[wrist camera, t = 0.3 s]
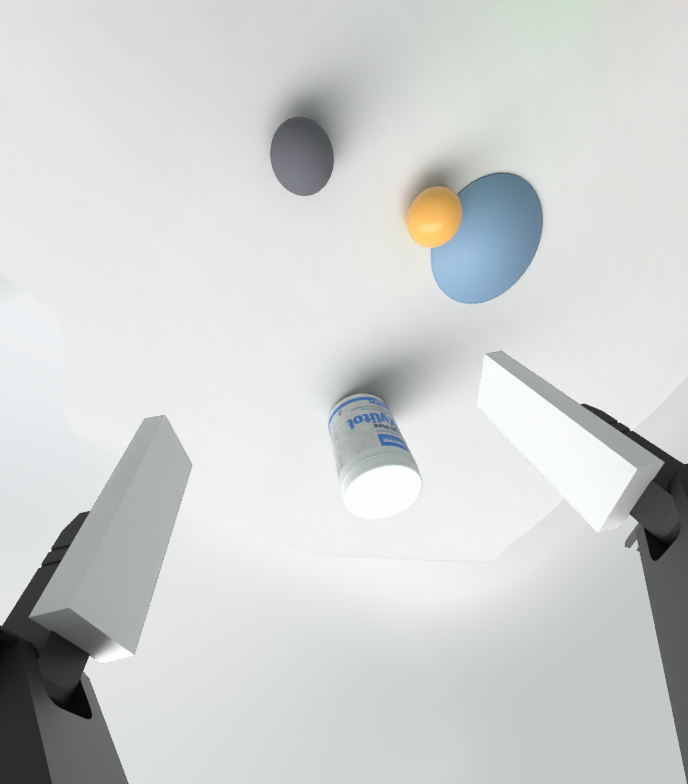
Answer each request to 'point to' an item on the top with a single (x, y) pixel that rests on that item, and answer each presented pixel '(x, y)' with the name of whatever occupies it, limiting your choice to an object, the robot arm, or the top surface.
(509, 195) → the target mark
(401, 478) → the supplement tub
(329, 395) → the top surface
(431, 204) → the object ball
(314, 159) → the gray sphere
